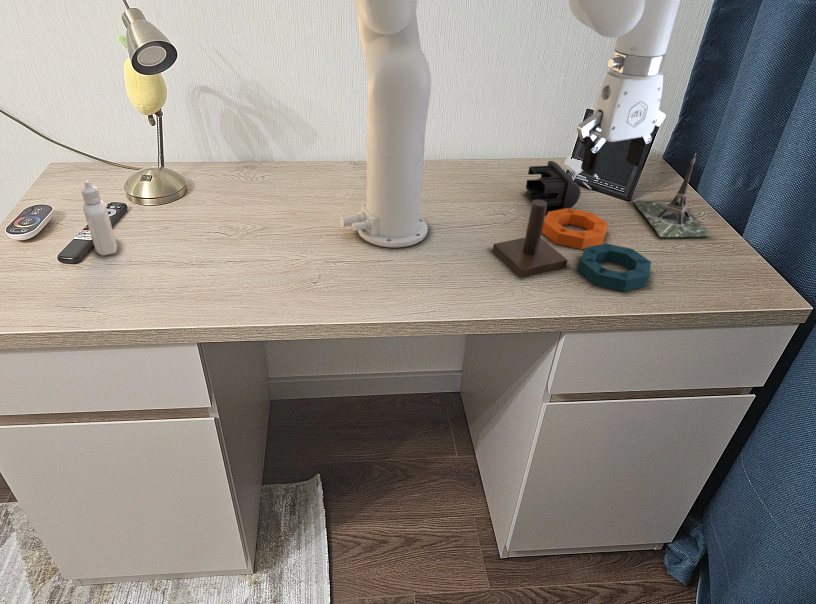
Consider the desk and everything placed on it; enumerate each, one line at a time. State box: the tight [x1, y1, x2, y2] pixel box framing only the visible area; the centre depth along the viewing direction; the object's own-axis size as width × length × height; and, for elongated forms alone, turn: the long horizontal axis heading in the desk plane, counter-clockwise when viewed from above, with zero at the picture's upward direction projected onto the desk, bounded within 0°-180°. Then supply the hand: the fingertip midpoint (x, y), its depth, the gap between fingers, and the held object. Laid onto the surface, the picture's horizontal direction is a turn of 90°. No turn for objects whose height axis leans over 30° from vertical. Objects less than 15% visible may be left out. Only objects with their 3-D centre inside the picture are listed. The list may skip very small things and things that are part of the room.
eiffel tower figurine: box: [632, 153, 713, 238], centre depth 114 cm, size 15×10×13 cm
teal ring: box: [577, 243, 652, 293], centre depth 101 cm, size 11×11×2 cm
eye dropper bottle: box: [81, 180, 118, 256], centre depth 100 cm, size 4×6×12 cm
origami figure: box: [561, 153, 600, 190], centre depth 128 cm, size 12×8×5 cm
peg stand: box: [492, 200, 568, 278], centre depth 101 cm, size 9×9×10 cm
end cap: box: [524, 160, 581, 215], centre depth 120 cm, size 10×7×7 cm
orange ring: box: [541, 207, 609, 250], centre depth 112 cm, size 11×11×2 cm
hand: (610, 167), depth 106 cm, fingers open, 9 cm apart
